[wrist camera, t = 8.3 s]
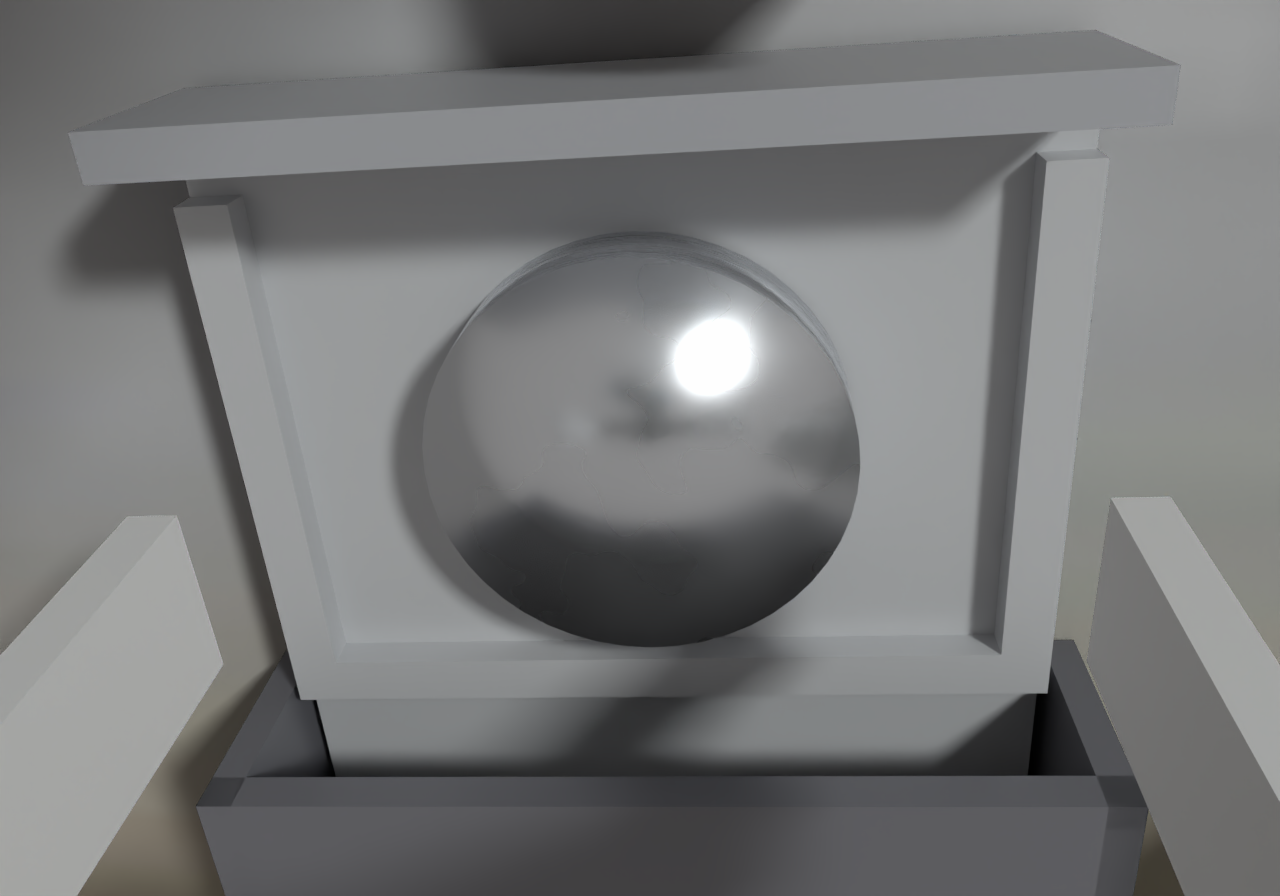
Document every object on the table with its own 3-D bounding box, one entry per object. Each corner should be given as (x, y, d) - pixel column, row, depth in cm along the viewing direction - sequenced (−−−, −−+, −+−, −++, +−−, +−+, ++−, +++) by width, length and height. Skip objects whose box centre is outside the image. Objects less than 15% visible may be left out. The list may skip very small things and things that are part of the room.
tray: (183, 87, 20) (67, 131, 17) (1095, 30, 19) (1180, 64, 15) (354, 787, 28) (299, 920, 24) (1015, 787, 26) (1060, 929, 23)
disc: (415, 237, 20) (390, 265, 19) (859, 224, 20) (868, 251, 18) (470, 600, 24) (452, 646, 23) (847, 601, 23) (853, 648, 22)
